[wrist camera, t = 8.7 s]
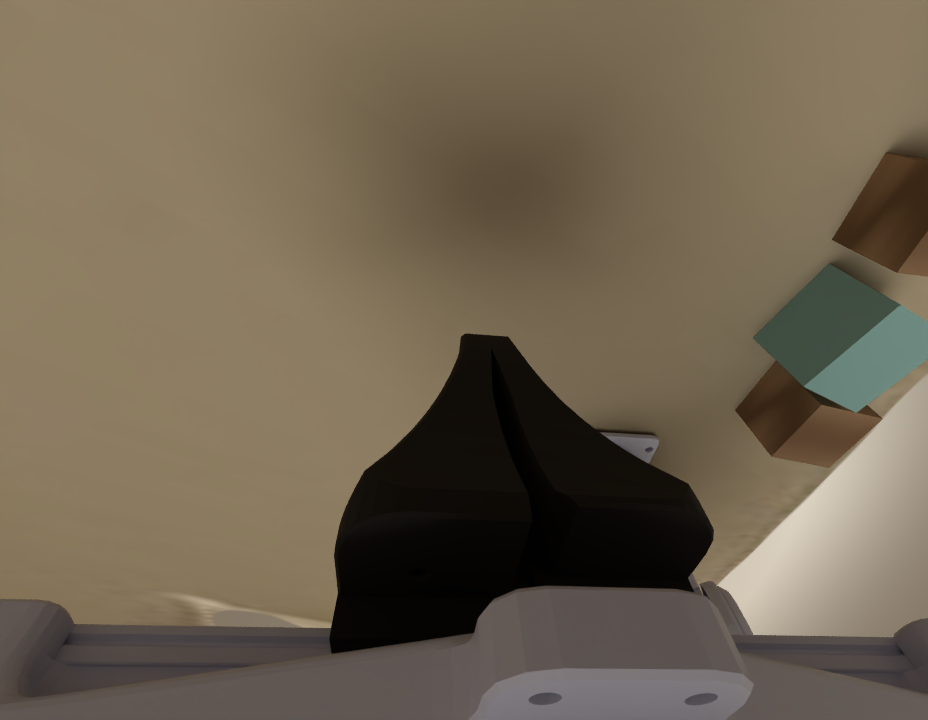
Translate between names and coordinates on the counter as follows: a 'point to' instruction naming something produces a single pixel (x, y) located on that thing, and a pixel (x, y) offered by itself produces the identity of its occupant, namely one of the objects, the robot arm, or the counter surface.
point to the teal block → (845, 339)
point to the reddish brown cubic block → (802, 420)
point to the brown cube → (891, 216)
